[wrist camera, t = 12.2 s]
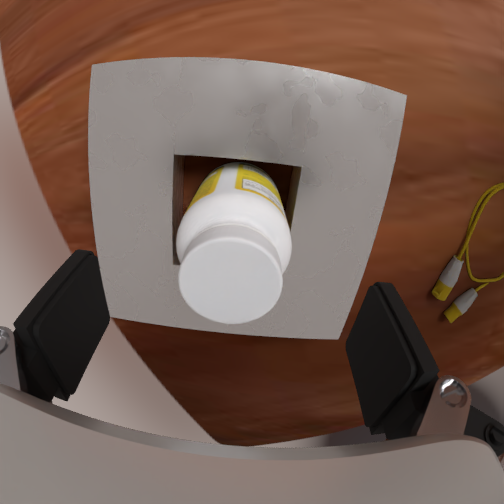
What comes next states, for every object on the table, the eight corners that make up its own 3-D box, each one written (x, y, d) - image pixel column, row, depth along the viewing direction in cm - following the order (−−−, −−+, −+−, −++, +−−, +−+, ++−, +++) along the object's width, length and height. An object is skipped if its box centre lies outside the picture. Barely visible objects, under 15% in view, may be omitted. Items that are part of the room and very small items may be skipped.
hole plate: (113, 68, 15) (92, 64, 12) (385, 95, 16) (406, 95, 13) (122, 294, 23) (109, 316, 21) (330, 314, 24) (338, 339, 22)
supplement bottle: (205, 239, 21) (175, 338, 12) (193, 165, 18) (141, 224, 10) (281, 233, 21) (300, 332, 12) (277, 157, 18) (301, 210, 9)
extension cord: (413, 228, 21) (425, 239, 19) (526, 160, 17) (539, 166, 15) (433, 321, 26) (440, 333, 24) (528, 254, 22) (538, 263, 20)
